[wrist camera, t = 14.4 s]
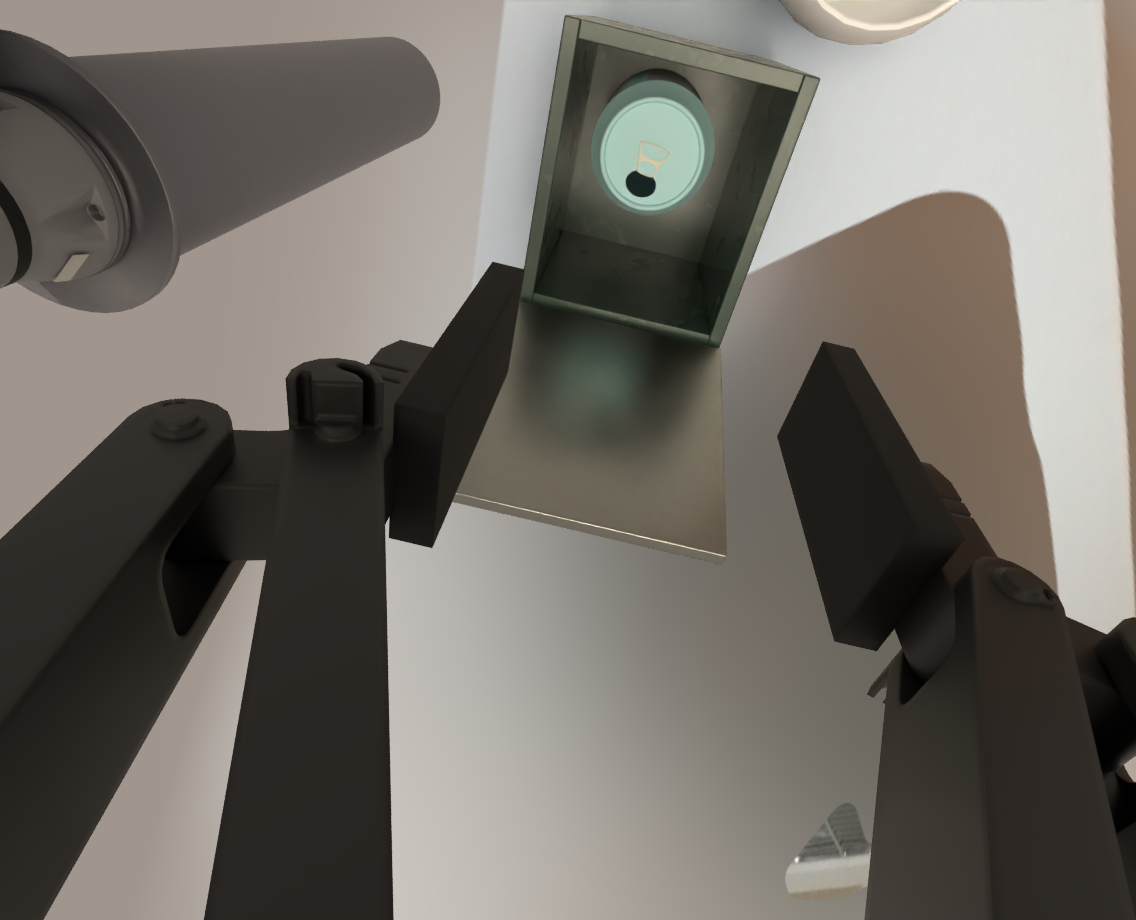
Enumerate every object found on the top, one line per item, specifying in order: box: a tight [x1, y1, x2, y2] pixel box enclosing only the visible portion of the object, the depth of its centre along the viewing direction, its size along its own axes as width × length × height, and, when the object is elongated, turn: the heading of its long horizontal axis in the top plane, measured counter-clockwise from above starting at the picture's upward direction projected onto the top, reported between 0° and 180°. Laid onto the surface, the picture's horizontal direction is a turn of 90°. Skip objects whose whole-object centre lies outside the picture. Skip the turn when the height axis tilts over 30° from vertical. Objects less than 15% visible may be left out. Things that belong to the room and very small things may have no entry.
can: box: [591, 69, 715, 215], centre depth 40 cm, size 7×7×12 cm
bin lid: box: [452, 301, 727, 564], centre depth 33 cm, size 16×13×1 cm
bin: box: [520, 15, 820, 348], centre depth 40 cm, size 15×13×15 cm
